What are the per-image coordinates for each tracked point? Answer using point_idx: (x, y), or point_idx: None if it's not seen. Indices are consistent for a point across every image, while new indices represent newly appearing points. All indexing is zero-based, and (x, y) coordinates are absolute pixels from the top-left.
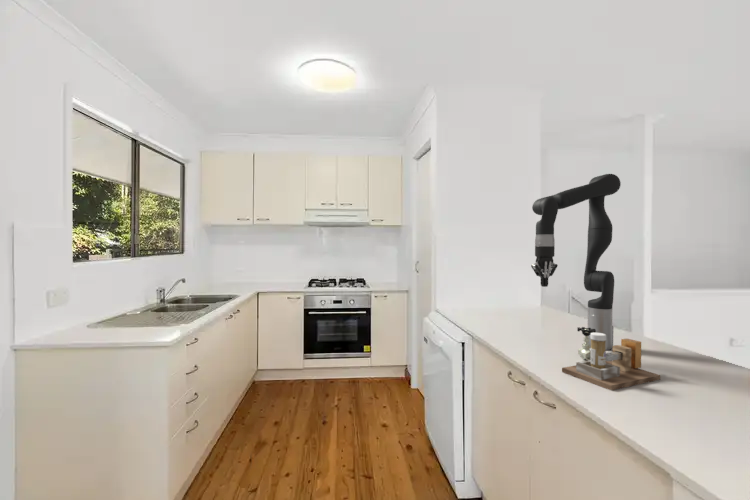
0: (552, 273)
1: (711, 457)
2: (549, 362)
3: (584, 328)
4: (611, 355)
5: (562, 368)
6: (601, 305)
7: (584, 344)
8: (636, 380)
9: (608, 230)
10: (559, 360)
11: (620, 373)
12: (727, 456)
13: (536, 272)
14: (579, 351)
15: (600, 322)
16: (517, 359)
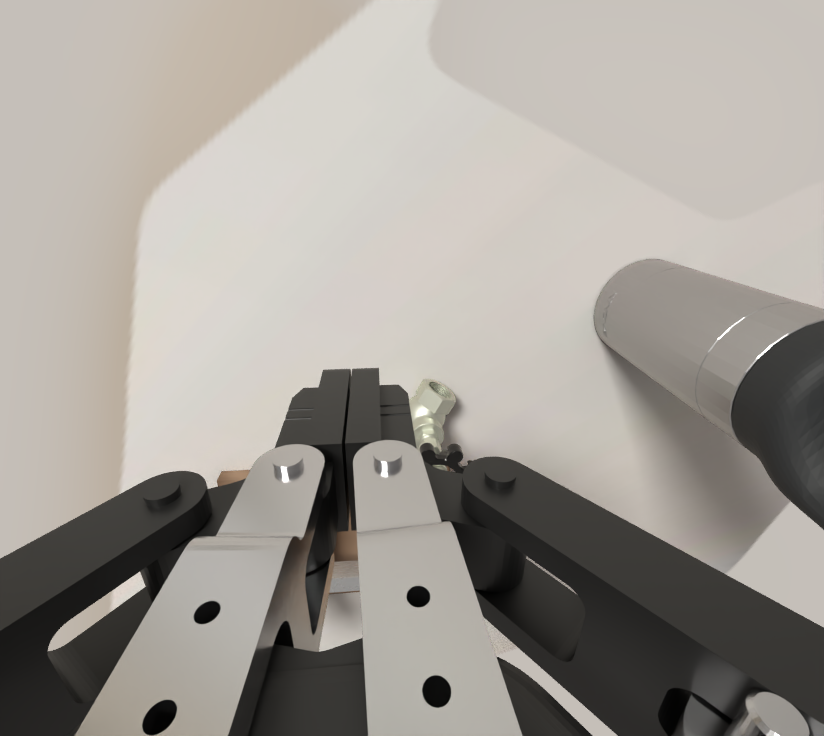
0: (528, 601)
1: None
2: (254, 387)
3: (448, 465)
4: (332, 590)
5: (217, 481)
6: (757, 454)
7: (417, 438)
8: (345, 592)
9: None
10: (312, 382)
11: (353, 555)
12: None
13: (58, 576)
14: (419, 395)
15: (675, 392)
16: (141, 313)
